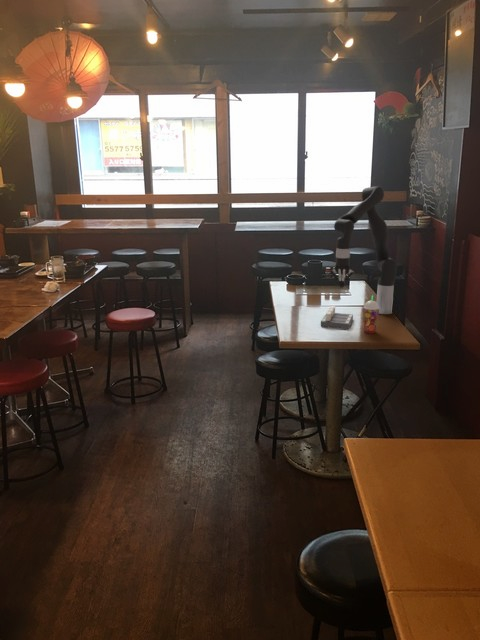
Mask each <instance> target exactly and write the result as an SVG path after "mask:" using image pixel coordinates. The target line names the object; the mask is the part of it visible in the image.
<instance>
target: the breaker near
mask: <svg viewBox="0 0 480 640" xmlns="http://www.w3.org/2000/svg"><path fill="white" fill-rule="evenodd" d="M325 315H326V320H325V321H330V320H331V315H332V312H329V311H328V310H327V311H326V313H325Z"/></svg>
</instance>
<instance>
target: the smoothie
mask: <svg viewBox="0 0 480 640" xmlns="http://www.w3.org/2000/svg"><path fill="white" fill-rule="evenodd" d="M379 308H380V307H379V305H378V303H377V302H376V300H374V295H371V300H368V301H366V302H365V304H364V305H363V310H362V311H363V312H362V314H363V320H362V321H363V326H362V327H363V328H362V330H363V332H364V333H367V334H375V333H376V331H377V329H378V327H377V326H378V321H379Z"/></svg>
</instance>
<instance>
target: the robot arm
mask: <svg viewBox="0 0 480 640" xmlns="http://www.w3.org/2000/svg"><path fill="white" fill-rule="evenodd" d="M384 197H385V192H384V189H383V188H382V187H381V186H378V185H377V186H370V187H365V188H363V190H362V192H361V199H362V202H360V203H358V204H356V205H355V206H353V207H352V208H351V209H350V210H349V211H348V212H347V213H345V214H344V215H342V216H340V217H339V218H338V219H336V220H335V222H334V224H333V228H334V230H335V232H337V233H342V234H343V236H340V237H338V238H337V240H336V251H335V266H334V269H332V270H330V273H331V274H332V276H333V277H334V278H335V280H336V281H338V287H340V289H341V288H342V289H343V288H344V287H345V281H348V279H349V278H351V276H352V275H353V274H354V270H352V269H351V267H350V260H351V249H350V248H351V239H352V236H353V233H354V229H355V224H357V223H358V221H359V220H360V219H361V218H363V216H364V215H365V214H366V216H367V219H368V223H369V228H370V234H371V236H372V237H371V238H372V241H373V245H374V248H375V253H376V264H377V268H378V269H379V271H380V272H381V274H380V278H379V279H378V280H377V291H376V300H375V302H377V303H378V305H379V307H380V308H379V314H381V315H392V311H393V310H392V309H393V301H394V288H395V287H394V286H395V281H396V279H397V272H398V263H397V261H396V260H395V259H393V258H391V256H390V252H389V247H388V245H389V229H388V226H387V223H386V221H385V220H384V218H383V217H382V216H381V215H380V214H379V213H378V210H377V208H376V205H378V204H380V203H381V201H383V199H384ZM336 273H337V274H338V275H337V274H336ZM347 274H348V275H347ZM346 275H347V276H346Z"/></svg>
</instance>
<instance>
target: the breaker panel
mask: <svg viewBox="0 0 480 640" xmlns="http://www.w3.org/2000/svg"><path fill="white" fill-rule="evenodd" d="M325 320H326V314H324V316H323V318H322V319H321V320H320V327H321V328H323V327H324V328H330V329H331V328H332V329H333V328H335V329H343V330H349V328H350V326H351V324H352V323H353V320H354V314H353V313H351V314H350V313H340V312H335V314H334V315H333V317H332V318H331V320H330V321H325Z"/></svg>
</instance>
